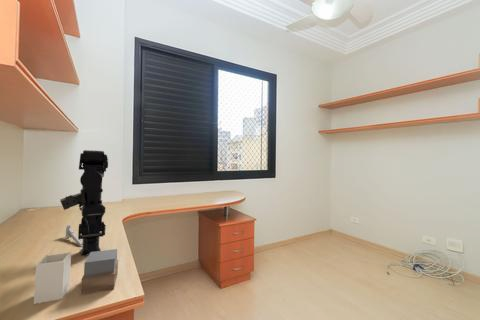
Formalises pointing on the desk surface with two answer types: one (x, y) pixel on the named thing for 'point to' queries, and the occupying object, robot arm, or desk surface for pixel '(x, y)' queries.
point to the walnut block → (99, 282)
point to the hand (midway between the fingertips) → (90, 230)
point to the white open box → (52, 277)
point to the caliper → (72, 235)
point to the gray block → (100, 262)
